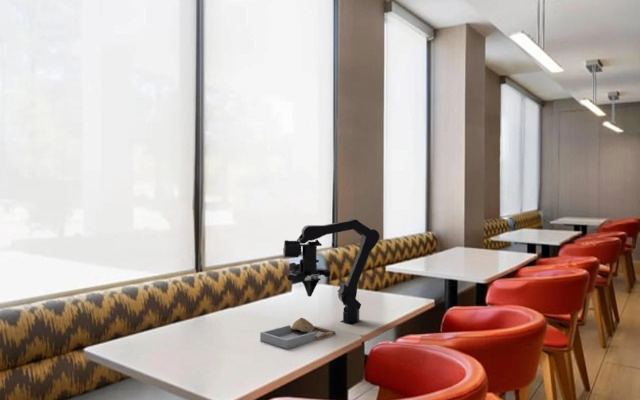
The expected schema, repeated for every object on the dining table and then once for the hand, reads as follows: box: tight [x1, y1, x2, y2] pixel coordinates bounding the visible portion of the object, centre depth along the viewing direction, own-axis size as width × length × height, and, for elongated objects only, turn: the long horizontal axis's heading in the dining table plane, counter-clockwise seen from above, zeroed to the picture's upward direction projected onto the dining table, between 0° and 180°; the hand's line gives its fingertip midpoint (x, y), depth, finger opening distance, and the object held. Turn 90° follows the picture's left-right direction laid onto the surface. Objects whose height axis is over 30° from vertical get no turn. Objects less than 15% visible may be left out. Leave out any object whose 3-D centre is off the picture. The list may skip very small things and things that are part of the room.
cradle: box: [291, 325, 336, 341], centre depth 185 cm, size 9×16×2 cm, turn 46°
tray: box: [259, 324, 317, 350], centre depth 176 cm, size 14×14×3 cm
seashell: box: [291, 317, 315, 334], centre depth 186 cm, size 8×6×8 cm
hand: (309, 296), depth 195 cm, fingers closed
